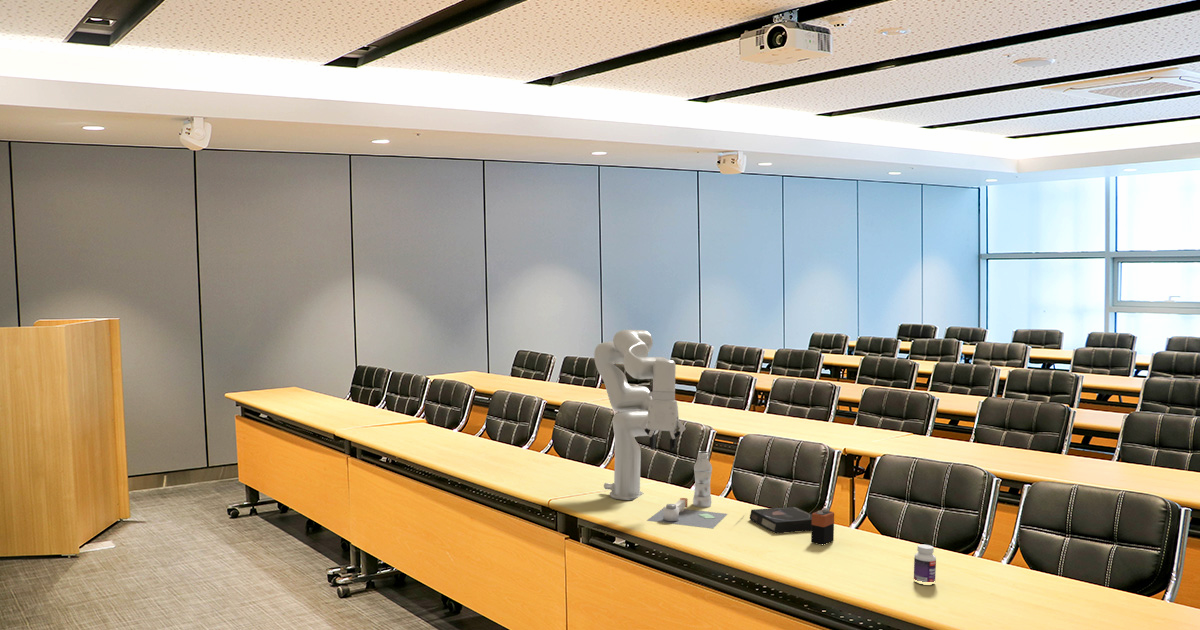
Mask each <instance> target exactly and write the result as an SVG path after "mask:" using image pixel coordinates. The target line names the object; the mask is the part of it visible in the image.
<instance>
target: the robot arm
mask: <svg viewBox="0 0 1200 630" xmlns="http://www.w3.org/2000/svg"><path fill="white" fill-rule="evenodd" d="M652 348H653V338H652V335H651V333H650V332H649V331H647V330H645V329H622V330H619V331H617V332H616V333H615V334H614V335H613V339H612V341H605V342H604V341H603V342H601V343H599V344H597V345H596V347H595V348H594V354H593V355H594V357H593V359H594V363H595V367H596V369H597V373H598V374H599V376H600V377H601V379H602V382H603V383H604V385H605V386H604V387H605V391H606V392H607V393H606V394H607V396H608V399H609V403H610V405H611V406H610V407H612V409H613V410H614V411H615V412H617V413H616V414H614V416H613V418H612V428H613V430H612V431H613V436H614V480H613V481H614V482H613V483H609V482H605V483H604V484H603V488H604V490H610V492H609V496H610V498H612V499H614V500H622V501H635V500H636V499H638V498H639V497H641V496H642V495H645V494H644V492H643V491H641V462H642V461H641V459H642V457H641V456H642V455H641V449H642V448H641V446H640V444H639V443H638V441H637V440H636V438H637V437H648V438H649V446H650V450H653V449H655V448H656V443H657V441H656V438H657V437H656V436H655V435H656V434H658V433H659V431H662V432H663V431H664V432H669V433H670V439H669V451H670V452H673V451H674V450H675V448H677V438H678V437H679V436H680V435H681V434H682V433H683V432H684V431H685V430H686V429H687V428H686V426H685V425H684V424H683V423H682V422H681V421H680V420H679V407H678V402H677V399H676V369H677V368H676V366H677V365H676V362H675V360H673V359H667V358H666V357H663V356H648V355H649V353H650V352H651V350H652ZM616 364H617V365H618V364H620V365H623V367H624V370H625V372H626V373H627V374H628V375H629V376H630V377H632V378H633V379H636V380H652V390H651V391H650V389H649V388H648V387H647V386H644V385H630V384H629V383H628V379H627V376H626V374H625V372H623V371H622V370H621V369H620V368H619V367H618V366H617V365H616ZM678 428H679V429H678ZM677 429H678V431H677ZM635 437H636V438H635Z"/></svg>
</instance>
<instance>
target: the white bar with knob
mask: <svg viewBox="0 0 1200 630" xmlns="http://www.w3.org/2000/svg"><path fill="white" fill-rule="evenodd" d="M688 500H689V499H688V498H687V497H681V498H679V500H678V501H676V502H675V503H667V504H665V505H666V506H664V507H663V508H662V509H663V519H664V520H666V521H678V520H679V512H680V511H681V510H682V509H686V508H688Z"/></svg>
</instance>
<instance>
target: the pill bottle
mask: <svg viewBox="0 0 1200 630" xmlns="http://www.w3.org/2000/svg"><path fill="white" fill-rule="evenodd" d="M934 550H935V549H934V546H933V545H930V544H925V543H924V544H918V545H917V549H916V551H917V552H916V553H915V554H914V558H913V559H914V560H913V580H914V579H915V580H917V581H922V582H934V581H935V582H936V571H937V569H936V567H937V558H936V557H937V556H935V555H934Z"/></svg>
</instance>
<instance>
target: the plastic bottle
mask: <svg viewBox="0 0 1200 630" xmlns="http://www.w3.org/2000/svg"><path fill="white" fill-rule="evenodd" d="M709 455H710V453H709V451H706V450H705V451H700V450H699V451H698V453H697V458H698V459H697V460H696V462H695V463H694V465H693V470H694V471H693V473H694V482H695V483H694V494H693V499H692V504H693V505H692V506H693V507H697V508H710V507H711V506H712V503H713V502H712V495H711V478H712V474H713V473H712V472H713V466H712V463H711V462H710V460H709V457H710V456H709Z"/></svg>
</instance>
